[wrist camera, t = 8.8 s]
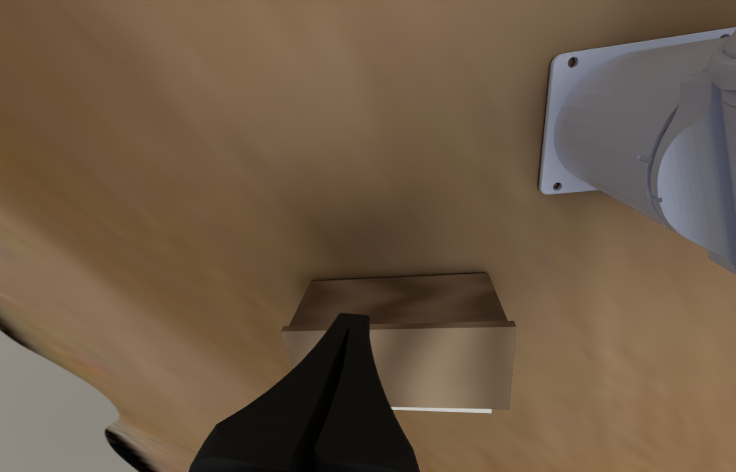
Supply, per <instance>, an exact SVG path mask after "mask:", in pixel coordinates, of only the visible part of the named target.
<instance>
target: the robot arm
mask: <svg viewBox="0 0 736 472" xmlns="http://www.w3.org/2000/svg"><path fill="white" fill-rule="evenodd" d="M721 36H723V38H720V37H721ZM572 57H573V58H574V59H575V64H574V65H573V66H572V67H571V68H570V67H569V66H568V61H569V59H570V58H572ZM555 183H559V184H560V185H559V187H558V188H555V189H553V186H554V184H555ZM539 190H540V191H541V192H542V193H544V194H560V193H572V192H584V191H596V190H600V191H602V192H604V193H606V194H607V195H609V196H611V197H613V198H615V199H616V200H618V201H620V202H622V203H624V204H625V205H627V206H629V207H631V208H633V209H634V210H636V211H638V212H640V213H642V214H644V215H645V216H647V217H649V218H651V219H653V220H654V221H656V222H658V223H660V224H662V225H663V226H665V227H667V228H669V229H671V230H673V231H674V232H676V233H679V234H680V235H682V236H683V237H685V238H687V239H689V240H691V241H692V242H694V243H696V244H698V245H700V246H702V247H704V248H705V249H706V251H707V252H708V255H709V258H710V260H712V261H713V262H715V263H717V264H719V265H720V266H722V267H724V268H725V269H727V270H729V271H731V272H732V273H734V274H736V27H733V28H727V29H720V30H714V31H707V32H701V33H694V34H687V35H681V36H674V37H668V38H661V39H655V40H648V41H642V42H635V43H628V44H622V45H615V46H609V47H602V48H596V49H589V50H583V51H576V52H570V53H563V54H560V55H557V56H556V57H555V58H554V59H553V60H552V63H551V67H550V77H549V88H548V98H547V108H546V118H545V128H544V138H543V149H542V159H541V169H540V179H539ZM189 472H420V470H419V467H418V464H417V460H416V457H415V454H414V451H413V448H412V446H411V444H410V443H409V441H408V439H407V438H406V436H405V434H404V432H403V430H402V429H401V427H400V425H399V423H398V421H397V419H396V417H395V415H394V413H393V410H392V408H391V406H390V404H389V402H388V399H387V397H386V394H385V392H384V389H383V387H382V384H381V381H380V378H379V375H378V372H377V368H376V365H375V361H374V357H373V353H372V348H371V342H370V317H369V316H368V315H361V314H350V313H340V314H338V316H337V317H336V319H335V320H334V322H333V323H332V325H331V326H330V327H329V329H328V330H327V331H326V333H325V334H324V335H323V337H322V338H321V339H320V340H319V341H318V343H317V344H316V345H315V346H314V348H313V349H312V350H311V351H310V352H309V353H308V354H307V355H306V356H305V357H304V359H303V360H302V361H301V362H300V363H299V364H298V365H297V366H296V367H295V368H294V369H293V370H292V371H290V372H289V373H288V374H287V375H286V376H285V377H284V378H283V379H281V380H280V381H279V382H278V383H277V384H276V385H274V386H273V387H272V388H271V389H269V390H268V391H267V392H266V393H264V394H263V395H261V396H260V397H259V398H257V399H256V400H254V401H253V402H252V403H250V404H249V405H247V406H246V407H244V408H243V409H241V410H240V411H238V412H236V413H235V414H233V415H231V416H230V417H228V418H226V419H225V420H223V421H221V422H220V423H218V424H216V426H215V427H214V429H213V430H212V432H211V433H210V434H209V436H208V437H207V439H206V440H205V442H204V443H203V445H202V447H201V448H200V450H199V452H198V454H197V455H196V457H195V459H194V461H193V462H192V464H191V466H190V469H189Z"/></svg>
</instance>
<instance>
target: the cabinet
mask: <svg viewBox="0 0 736 472" xmlns="http://www.w3.org/2000/svg"><path fill="white" fill-rule="evenodd" d="M340 313H350V314H361V315H368V316H369V317H370V342H371V348H372V353H373V357H374V361H375V365H376V368H377V372H378V375H379V378H380V381H381V384H382V387H383V389H384V392H385V394H386V397H387V399H388V402H389V404H390V406H391V407H418V408H465V409H509V408H510V396H511V384H512V372H513V360H514V348H515V336H516V325H515V323H514V321H508V320H507V318H506V316H505V313H504V311H503V308H502V306H501V304H500V301H499V299H498V296H497V294H496V292H495V289H494V287H493V284H492V282H491V280H490V277H489V275H488V273H478V274H457V275H435V276H414V277H393V278H372V279H351V280H330V281H311V283H310V285H309V287H308V289H307V291H306V293H305V295H304V297H303V299H302V301H301V303H300V305H299V307H298V309H297V311H296V313H295V315H294V317H293V319H292V321H291V323H290V325H289V326H284V327H283V328H282V330H281V333H282V336H283V339H284V343H285V346H286V349H287V352H288V355H289V358H290V361H291V364H292V367H293V369H294V368H295V367H296V366H297V365H298V364H299V363H300V362H301V361H302V360H303V359H304V357H305V356H306V355H307V354H308V353H309V352H310V351H311V350H312V349H313V348H314V346H315V345H316V344H317V343H318V341H319V340H320V339H321V338H322V337H323V335H324V334H325V333H326V331H327V330H328V329H329V327H330V326H331V325H332V323H333V322H334V320H335V319H336V317H337V316H338V314H340Z"/></svg>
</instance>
